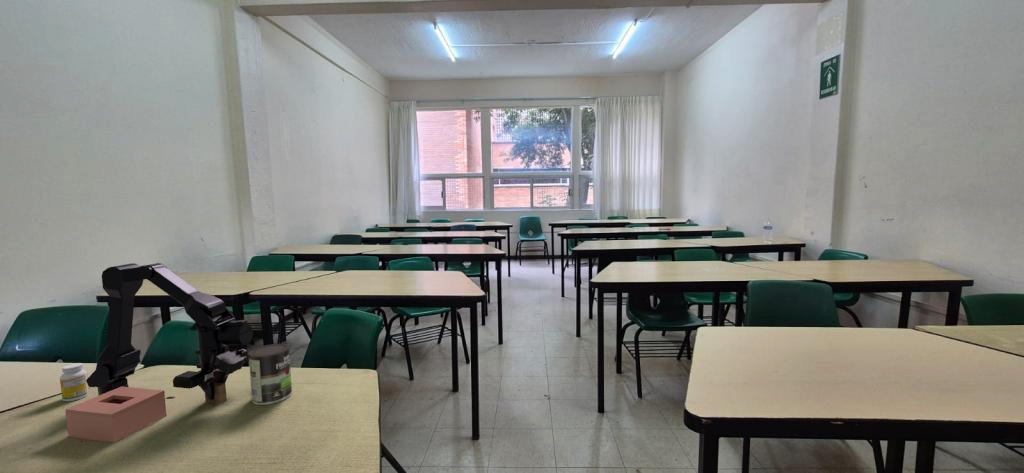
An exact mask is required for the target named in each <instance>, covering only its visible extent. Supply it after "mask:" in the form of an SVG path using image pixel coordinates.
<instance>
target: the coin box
mask: <svg viewBox="0 0 1024 473" xmlns="http://www.w3.org/2000/svg"><path fill="white" fill-rule="evenodd" d="M64 411H65V419H66V425H67V426H66V427H67V434H68V437H69V438H75V439H82V440H90V441H91V440H92V441H98V442H99V441H100V442H105V443H106V442H108V443H117V442H118V441H121V440H122V439H124V438H126V437H129V436H130V435H132V434H134V433H136V432H139V431H140V430H142V429H143V427H144V428H145V426H146V427H147V425H148V426H149V424H150V425H151V423H152V424H154V423H155V422H158V421H159V420H161V419H163V418H165V417H167V405H166V395H165V390H161V389H153V388H140V387H119V388H117V389H114V390H112V391H109V392H107V393H104V394H102V395H99V396H98V395H97V396H95V397H92V398H89V399H88V400H85V401H82V402H80V403H78V404H75V405H73V406H70V407H68V408H65V410H64ZM153 422H154V423H153Z"/></svg>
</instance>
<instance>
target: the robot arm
mask: <svg viewBox="0 0 1024 473" xmlns="http://www.w3.org/2000/svg"><path fill="white" fill-rule="evenodd" d="M101 273H102V274H101V283H102V289H103V291H105V293H106V294H107V296H109V305H108V306H109V307H108V319H107V320H108V321H107V322H108V323H107V338H106V347H105V348H104V350H103V351H102V352H101V353H100V355H99V357H98V358H97V362H96V367H95V370H94V371H93V372H92V373H91V374H90V375H89V376H87V380H86V382H87V384H88V388H97V396H99V395H102V394H104V393H107V392H109V391H112V390H114V389H117V388H119V387H129V383H128V381H129V380H128V378H127V377H129V376H132V375H134V374H135V372H136V368H137V367H138V366H139V364H140V363H141V358H140V356H141V352H142V351H141V349H138V348H137V349H136V348H135V347H134V345H133V344H132V336H133V334H132V333H133V325H134V324H133V320H134V308H135V297H136V294H137V293H138V291H139V290H140V289H141V287H142V286H143V284H144V281H145V280H147V281H148V282H151V284H153V285H154V286H156V287H157V288H159V289H160V290H161V291H162V292H164V293H165V294H167V295H168V296H170V297H171V298H172V299H174V300H176V301H177V302H178V303H179V304H181V305H182V307H184V310H185V313H186V315H187V316H188V317H190V319H192V321H193V322H194V323H193V324H192V325H191V327H189V328H188V331H197V340H198V349H195V355H199V363H197V364H196V369H200V370H198V371H194V370H193V371H192V370H187V371H185V372H183V373H180V374H178V375H175V377H174V378H173V379H172V387H173V388H179V389H194V388H196V387H200V389H201V390H202V391H203V392H204V395H205V394H206V395H207V396H208V398H209V399H210V400H213V399H214V396H215V391H214V382H216V383H225V384H227V383H226V382H227V380H228V378H229V375H231V374H234V373H235V372H237V371H240V370H241V369H242V367H243V365H244V364H245V363H246V364H247V362H249V356H248V350H247V349H244V348H242V349H239V350H237V351H234V350H233V351H230V347H229V346H245V345H248V344H249V343H251V341H252V339H253V336H254V329H253V328H252V325H250V324H249V323H248V320H247V319H241V320H236V317H235V315H234V314H233V313H232V312H231V311H230V310H229V309H228V308H227V306H226V302H224V301H223V300H222V299H221V298H218V297H216V296H214V295H213V294H209V293H204V292H201V291H199V290H197V288H194V287H193V286H192V285H191V284H190V283H188V282H186V281H185V279H183V278H181V277H179V276H178V275H177V274H175V273H174V272H173V271H171V270H170V269H168V267H167V266H166V265H165V264H164V263H160V262H156V263H152V264H151V263H150V264H144V265H139V264H138V263H126V264H120V265H115V266H109V267H107V268H106V269H104V270H102V272H101Z"/></svg>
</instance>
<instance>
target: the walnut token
mask: <svg viewBox="0 0 1024 473" xmlns="http://www.w3.org/2000/svg"><path fill="white" fill-rule="evenodd" d="M214 391H215V396H214V399H213V400H210V399H209V398H208V396H207V395H206V394H205V393H204V398H205V400H204V401H205V403H211V404H223V403H224V402H226V401H228V400H227V387H226V383H216V382H214Z"/></svg>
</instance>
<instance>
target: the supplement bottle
mask: <svg viewBox="0 0 1024 473" xmlns="http://www.w3.org/2000/svg"><path fill="white" fill-rule="evenodd" d="M61 371H62V374H61V375H60V377H59V382H60V383H59V384H60V391H61V400H62V401H63V402H72V401H73V402H74V401H77V400H80V399H84V398H85V397H87V396H89V395H90V394H89V393H90V391H89V389H90V388H89V386H88V384H87V382H86V380H87V379H88V372H87V371H86V370H85V369H84V365H83V363H81V362H78V363H77V362H76V363H72V364H68V365H64V366H62V370H61Z"/></svg>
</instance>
